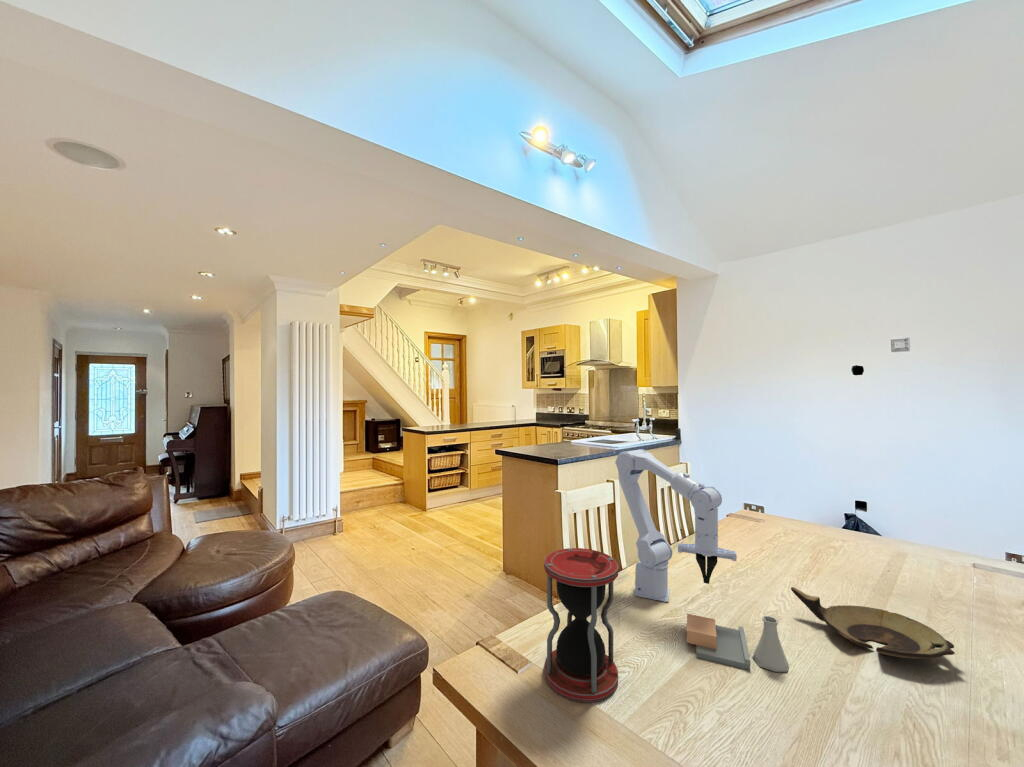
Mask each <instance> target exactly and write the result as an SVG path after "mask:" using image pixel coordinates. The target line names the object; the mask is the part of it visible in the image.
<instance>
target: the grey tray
mask: <svg viewBox="0 0 1024 767" xmlns="http://www.w3.org/2000/svg"><path fill="white" fill-rule="evenodd" d="M715 626H716V636H717V649H712V648H708V647H704V646H700V645H696V648H695V649H696V653H695V654H696V658H698V659H703V660H706V661H710V662H715V663H719V664H723V665H727V666H731V667H735V668H739V669H744V670H748V671H751V658H750V653H749V647H748V643H747V638H746V634H745V629H744V626H741V625H739V626H738V629H736V628H731V627H726V626H721V625H718V624H717V625H716V624H715Z"/></svg>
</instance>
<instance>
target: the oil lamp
mask: <svg viewBox="0 0 1024 767" xmlns="http://www.w3.org/2000/svg"><path fill="white" fill-rule="evenodd" d="M790 590H791V591H792V593H793V594H794V595H795V596H796V597H797V598H798V599H799V600H800V601H801V602H802V604H804V605H805V606H806V608H807V609H808V610H809V611H810V612H811V613H812V614H813V615H814V616H815V617H816V618H817V619H819V620H820V621H822V622H824V623H825V624H826V625H827V627H829V628H830V629H831V630H833V631H834V632H835V633H837V634H838V635H840V636H841V637H843V638H845V639H846V640H847V641H848V640H849V641H850V642H851V643H854V644H856V645H859V646H861V647H863V648H867V649H874V647H873V646H872V645H871V644H869V643H867V642H870V641H871V642H875V643H879V644H884V645H883V646H882V647H876V650H875V651H876V653H878V654H880V655H881V654H882V655H886V656H890V657H895V658H896V657H897V658H902V659H916V660H918V659H935V658H941V657H944V656H952V655H953V656H954V655H955V654H956V653H955V651H954V650H952V649H954V648H955V645H954V644H953V643H952V642H951V641H949V640H947V639H945V638H944V636H942V635H941V634H940V633H938V632H937V630H935V629H933V628H931V627H929V626H928V625H925V624H924V623H922V622H919V621H917V620H915V619H913V618H910V617H908V616H906V615H902V614H900V613H897V612H891V611H888V610H886V609H885V610H884V609H882V608H881V609H880V608H875V607H871V606H870V607H868V606H862V605H851V604H850V605H844V604H843V605H832V606H829V607H823V605H822V604H821V601H820V600H821V598H820V597H819V596H813V595H809V594H807V593H804V592H803V591H801V590H799V589H798V588H797V587H793V586H791V588H790Z"/></svg>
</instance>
